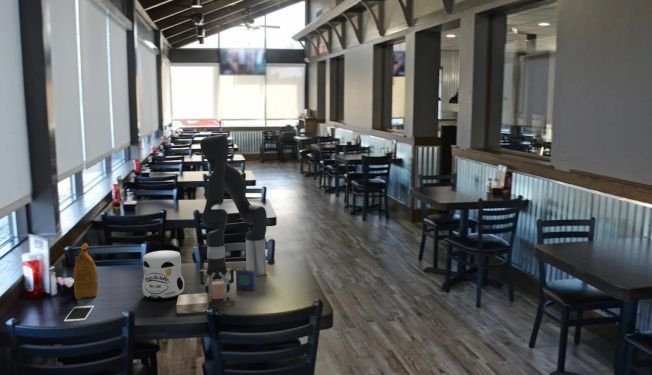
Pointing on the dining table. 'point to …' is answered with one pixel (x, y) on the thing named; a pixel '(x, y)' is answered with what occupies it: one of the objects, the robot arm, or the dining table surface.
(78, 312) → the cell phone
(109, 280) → the dining table surface
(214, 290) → the terracotta block
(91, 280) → the coffee package
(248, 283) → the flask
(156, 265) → the milk container
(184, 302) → the maple base
